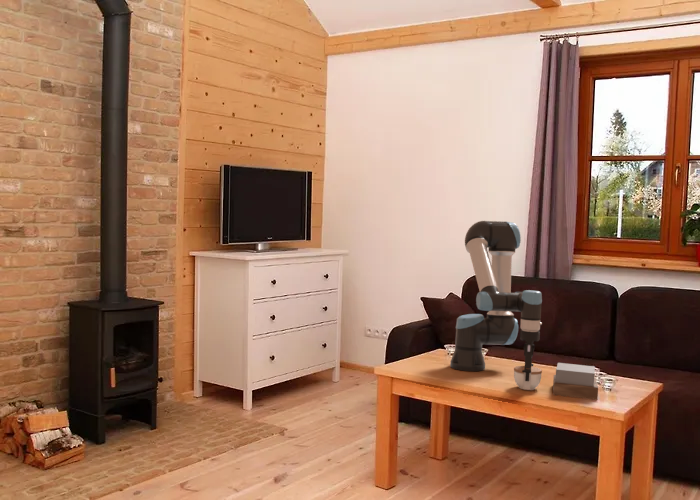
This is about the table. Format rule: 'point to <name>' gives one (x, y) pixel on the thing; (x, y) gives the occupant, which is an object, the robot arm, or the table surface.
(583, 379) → the grey square slab
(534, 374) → the lidded jar
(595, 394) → the tower base
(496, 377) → the table surface
